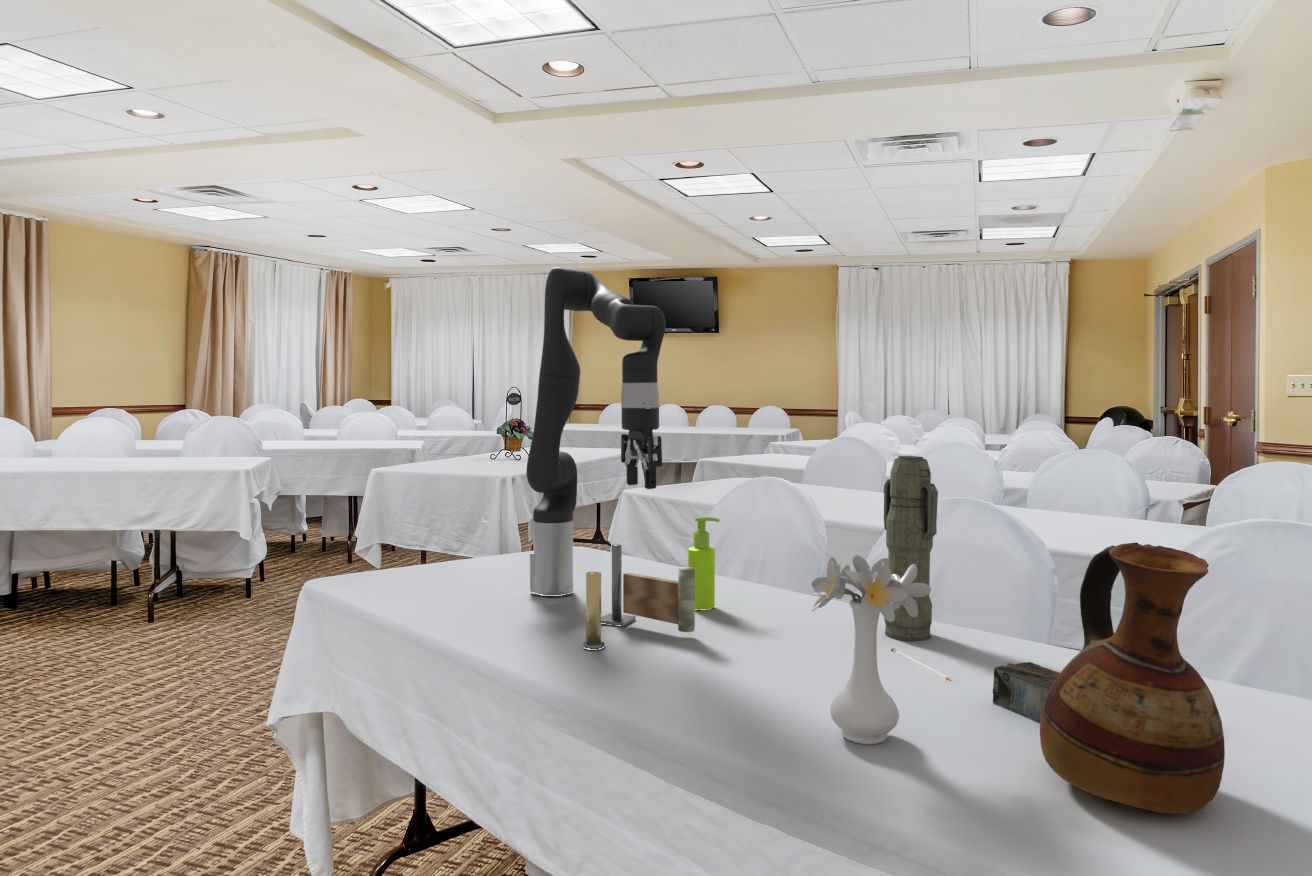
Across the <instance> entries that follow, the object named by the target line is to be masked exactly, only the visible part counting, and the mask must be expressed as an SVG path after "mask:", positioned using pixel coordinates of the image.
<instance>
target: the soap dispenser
mask: <svg viewBox="0 0 1312 876" xmlns="http://www.w3.org/2000/svg"><path fill="white" fill-rule="evenodd" d="M694 519H695V522H697V530H696V531H695V532H694V533H693V546H691V547H690V546H689V547H688V548H687V567H693V568H695V609H699V610H700V609H711V608H714V606H715V604H716V603H715V601H716V600H715V597H716V596H715V594H716V591H715V590H716V589H715V588H716V584H715V582H716V581H715V580H716V577H715V574H716V572H715V571H716V570H715V569H716V548H714V547H711V546H710V533H709V531H708V530H706V521H707V522H716V523H719V522H720V521H721V520H720V518H718V517H714V516H713V517H712V516H698V517H695V518H694ZM714 609H715V608H714Z"/></svg>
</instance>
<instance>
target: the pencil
mask: <svg viewBox="0 0 1312 876" xmlns="http://www.w3.org/2000/svg"><path fill="white" fill-rule="evenodd" d="M890 652H893V653H894V654H896V655H898V656H900V657H902V658H904V659H905V660H907V661H909V662H912V663H913V664H915V665H917V666H919V667H921V668H923V669H925V671H928V672H929V673H932V674H933V675H935V676H938V677H939V676H940V678H942V679H943V678H944V679H943V680H945V679H946V680H945V681H947V680H949V681H948V682H950V681H953V680H952V679H951V678H950V677H949V676H947V675H945V674H944V673H941V672H939V671H937V670H936V669H933V668H932V667H930V666H928V665H926V664H924V663H922V662H920V661H919V660H917V659H915V658H912V657H911V656H909V655H908V654H905V653H903V652H902V651H899V650H898V649H897V648H896V649H895V648H893V647H892V648H891V649H890Z"/></svg>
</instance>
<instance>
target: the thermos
mask: <svg viewBox="0 0 1312 876" xmlns="http://www.w3.org/2000/svg"><path fill="white" fill-rule="evenodd" d="M889 475H890V478H889V479H887V480H886V482H885V484H883V485H884V486H883V487H884V488H883V492H884V493H883V525H884V530H885V531H886V532H885V533H886V534H885V536H886V537H885V545H886V548H887V551H888V552H887V553H888V557H887V559H889V561H890V565H889V567H890V570H891V574H896V575H898V576H900V578H902V577H903V576H904V574H905V572H906V570H907V569H908V568H909V566H911V565H912V564H915V565H916V566H917V576H916V578H915V580H914V581H913V582H911V583H924V584H927V585H929V586H930V579H931V578H930V577H931V576H930V575H931V573H930V572H931V552H932V549H933V547H934V546H933V545H934V537H935V536H936V535H937V533H938V530H937V527H938V526H937V523H938V521H937V520H938V519H937V518H938V502H939V501H938V500H939V499H938V498H939V491H938V489H937V487H936V485H935V484H934V483H932V482H931V481H932V472H931V469H930V466H929V462H928V459H926V458H924V457H923V456H915V455H901V456H898V458H894V460H893V463H892V465H891V469H890V474H889ZM911 597H912V596H911ZM912 598H913V599H914V600H915V602H916V604H917V607H918V615H917V617H915V618H914V617H911V616H910V615H909V614H908V612H907V611H906V609H905V607H904V606H903V605H900V606H899V607H898V608H897V609H895V610H894V613H895V620H894V621H893V622H889V621H888V620H886V619H885V618H884V617H883V620H884V623H885V629H884V635H885V636H887V637H888V638H890V639H893V640H899V641H907V642H922V641H927V640H929V639H931V635H932V634H931V626H932V623H933V622H932V619H933V604H932V603H933V602H932V601H931V597H930V593H929V594H928V595H926V596H924V597H912ZM888 603H890V602H888Z"/></svg>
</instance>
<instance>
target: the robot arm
mask: <svg viewBox="0 0 1312 876" xmlns="http://www.w3.org/2000/svg"><path fill="white" fill-rule="evenodd" d="M565 310H566V311H574V312H591V313H592V315H593V316H594V318H595V319H596V320H597V321H599V323H601V324H603V325H605V326H607V327H609V329H610V330H611V331H612V334H613V335H614V336H615V337H616V338H617V339H619V340H623V341H631V342H634V341H635V342H636V341H637V342H638V341H639V342H640V341H641V346H640V348H639V350H637V351H636V352H630V353H627V354H625V355H624V356H623V358H622V361H621V364H622V365H621V366H622V367H621V373H622V374H621V377H622V378H621V381H622V384H621V385H622V387H621V397H620V398H621V405H620V407H621V408H620V409H621V429H623V431H624V430H625V431H628V433H622V434H621V437H620V442H621V443H620V462H621V463H624V466H625V468H626V484H627V485H628V486H637V485H638V483H639V478H638V476H639V475H638V474H639V471H638V469H639V468H638V464H639V461H641V462H642V464H643V467H644V473H643V474H644V489H646V490H654V489H656V488H657V470H658V469H659V468H661V467H662V466H663V450H662V449H663V448H662V446H663V445H662V437H661V435H654V433H653V431H655V430H656V431H657V430H658V429H659V428H660V395H659V394H660V393H659V385H658V362H659V361H658V360H659V356H660V352H661V347H662V344H663V341H664V340H663V339H664V337H665V332H666V329H667V327H666V324H667V322H666V318H665V315H664V312H663V311H662V309H661V308H660V307H658V306H655V305H644V304H643V305H640V304H635V303H634V302H633V301H632V300H631V299H630V298H628V297H627V296H624V295H621V294H620V293H618V292H615V291H613V290H610V288H608V287H607V286H606V285H604V284H603V283H602V282H601V281H600V280H599V279H598V278H597V277H596V276H595V275H594V274H592V273H590V272H588V271H586V270H581V269H574V268H566V267H559V266H556V267H553V268H552V269H551V270H550V271H549V273H548V275H547V277H546V283H545V289H544V317H543V318H544V319H543V321H544V323H543V325H544V327H543V342H542V352H541V358H540V359H541V360H540V367H539V376H538V377H539V378H538V385H537V386H538V387H537V401H536V407H535V417H534V426H533V434H532V438H531V442H530V447H529V452H528V457H527V463H526V471H525V472H526V479H527V483H528V484H529V486H530V488H531V489H532V490H533V491H535V492H537V493H540V494H543V495H542V499H541V501H540V502H539V503H538V504H537V505H536V506H535V507H534V508H533V511H532V523H533V524H532V527H533V529H532V531H533V532H532V535H533V536H532V537H533V538H532V541H533V545H532V546H533V550H532V551H533V552H531V553H530V554H529V592H530V591H531V592H535V593H538V594H543V595H561V594H562V595H563V594H568V593H571V592H573V593H574V536H573V535H574V528H573V527H574V519H573V518H574V512H575V510H576V505H577V500H578V499H577V497H578V495H577V493H578V468H577V464H576V461H575V460H574V458H573V456H572V455H571V454H569V453H568V452H565V451H561V449H560V446H561V445H560V444H561V438H562V434H563V432H564V428H565V426H566V424H567V422H568V420H569V417H571V414H572V413H573V410H574V408H575V406H576V403H577V401H578V397H579V388H580V377H581V368H580V367H581V366H580V364H579V361H578V358H577V356H576V354H575V352H574V350H573V347H572V345H571V343H570V341H569V339H568V335H567V332H566V328H565V327H566V326H565Z"/></svg>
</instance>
